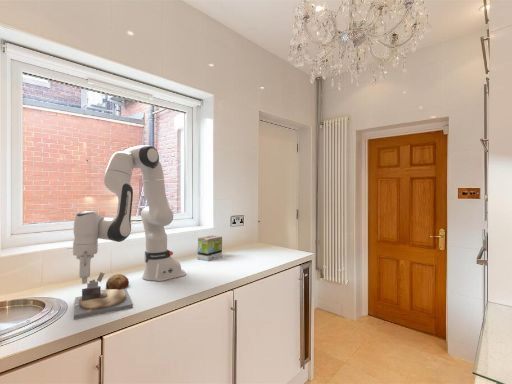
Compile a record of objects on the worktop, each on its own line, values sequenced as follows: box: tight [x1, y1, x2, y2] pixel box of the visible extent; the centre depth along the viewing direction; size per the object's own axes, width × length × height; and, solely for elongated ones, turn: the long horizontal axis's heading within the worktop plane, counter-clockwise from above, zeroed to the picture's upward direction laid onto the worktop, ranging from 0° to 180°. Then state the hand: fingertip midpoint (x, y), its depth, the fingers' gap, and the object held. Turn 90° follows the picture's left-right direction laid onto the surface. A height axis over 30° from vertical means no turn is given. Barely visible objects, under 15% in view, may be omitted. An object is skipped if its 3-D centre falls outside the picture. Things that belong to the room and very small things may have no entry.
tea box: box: [196, 235, 223, 262], centre depth 195 cm, size 15×10×15 cm, turn 148°
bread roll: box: [105, 273, 130, 290], centre depth 137 cm, size 10×10×8 cm
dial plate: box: [73, 288, 134, 320], centre depth 117 cm, size 20×20×2 cm
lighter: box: [86, 271, 105, 288], centre depth 133 cm, size 7×2×8 cm, turn 137°
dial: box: [79, 285, 126, 309], centre depth 116 cm, size 17×17×6 cm
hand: (84, 282), depth 118 cm, fingers closed
